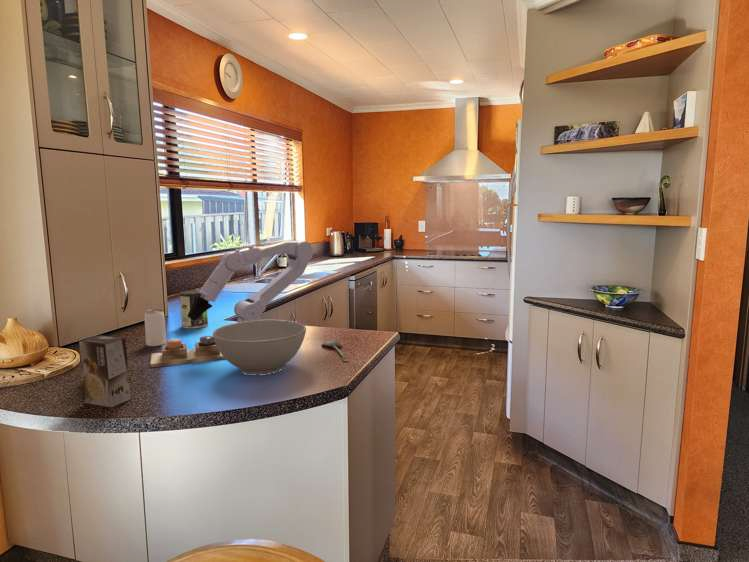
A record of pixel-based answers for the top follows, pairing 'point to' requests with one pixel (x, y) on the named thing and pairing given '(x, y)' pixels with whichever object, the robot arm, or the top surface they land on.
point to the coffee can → (186, 305)
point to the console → (185, 355)
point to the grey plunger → (206, 341)
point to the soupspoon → (334, 344)
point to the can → (155, 328)
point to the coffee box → (105, 370)
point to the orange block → (174, 344)
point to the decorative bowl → (259, 344)
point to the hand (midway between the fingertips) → (190, 318)
